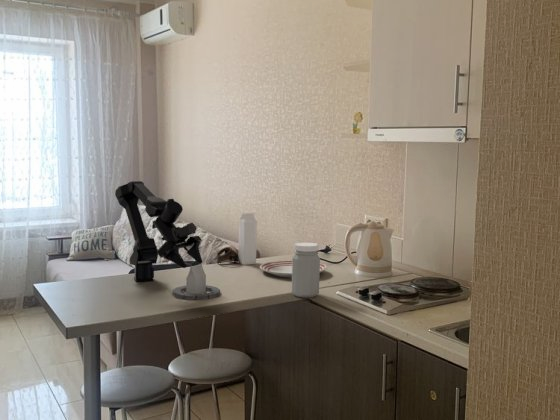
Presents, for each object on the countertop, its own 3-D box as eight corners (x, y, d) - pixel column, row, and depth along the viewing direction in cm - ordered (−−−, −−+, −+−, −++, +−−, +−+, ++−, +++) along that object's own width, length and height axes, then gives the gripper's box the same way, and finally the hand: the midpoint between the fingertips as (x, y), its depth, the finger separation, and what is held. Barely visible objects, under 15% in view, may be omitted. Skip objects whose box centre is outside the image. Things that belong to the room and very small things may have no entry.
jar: (285, 294, 210) (286, 243, 208) (303, 289, 218) (305, 240, 216) (306, 299, 204) (308, 247, 202) (324, 294, 211) (326, 244, 209)
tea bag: (205, 292, 211) (206, 264, 210) (195, 296, 205) (195, 267, 204) (196, 291, 212) (196, 263, 211) (186, 295, 206) (186, 266, 205)
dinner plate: (249, 277, 237) (249, 268, 237) (272, 264, 263) (272, 257, 263) (316, 283, 229) (317, 275, 228) (333, 270, 254) (333, 262, 254)
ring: (178, 301, 198) (178, 297, 198) (168, 289, 213) (168, 286, 213) (225, 297, 204) (225, 294, 204) (212, 286, 219) (212, 283, 219)
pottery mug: (242, 266, 258) (234, 251, 255) (222, 275, 259) (214, 260, 255) (240, 254, 269) (232, 239, 266) (221, 263, 270) (213, 248, 267)
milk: (256, 264, 262) (257, 214, 260) (243, 264, 259) (244, 214, 257) (250, 261, 268) (251, 212, 265) (237, 262, 265) (238, 212, 262)
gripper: (164, 218, 200) (191, 255, 196) (197, 213, 217) (222, 246, 213) (146, 239, 205) (171, 275, 201) (179, 232, 221) (204, 265, 217)
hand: (193, 265), depth 208 cm, fingers open, 9 cm apart
